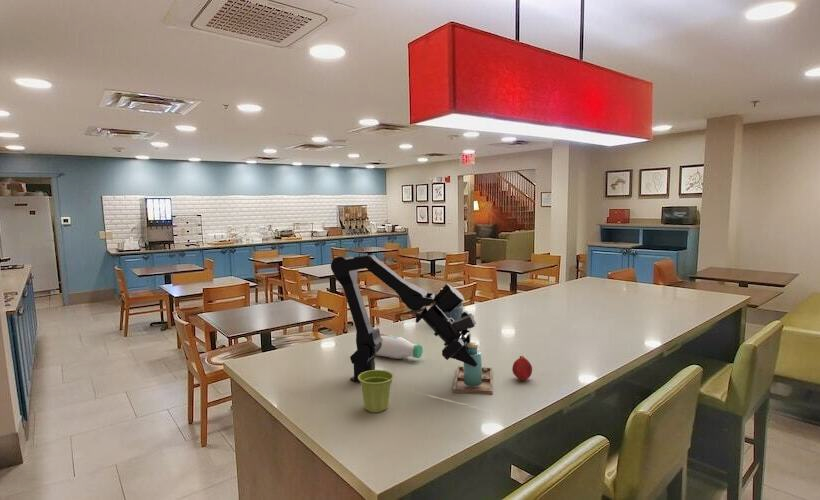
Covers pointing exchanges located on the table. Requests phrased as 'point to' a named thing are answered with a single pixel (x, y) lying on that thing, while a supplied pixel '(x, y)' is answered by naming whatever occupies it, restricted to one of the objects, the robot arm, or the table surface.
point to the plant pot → (376, 389)
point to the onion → (522, 368)
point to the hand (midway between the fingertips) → (477, 362)
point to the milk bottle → (398, 348)
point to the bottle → (470, 372)
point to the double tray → (480, 389)
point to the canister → (455, 312)
